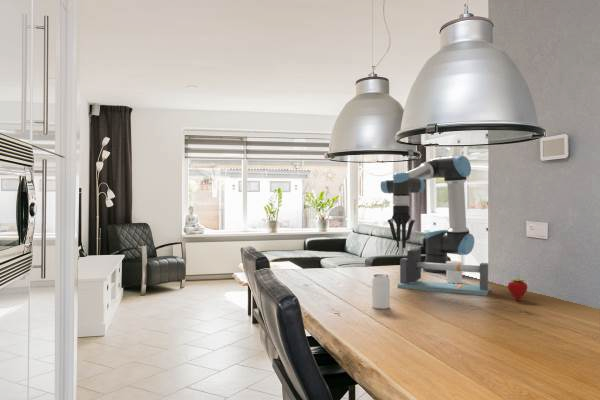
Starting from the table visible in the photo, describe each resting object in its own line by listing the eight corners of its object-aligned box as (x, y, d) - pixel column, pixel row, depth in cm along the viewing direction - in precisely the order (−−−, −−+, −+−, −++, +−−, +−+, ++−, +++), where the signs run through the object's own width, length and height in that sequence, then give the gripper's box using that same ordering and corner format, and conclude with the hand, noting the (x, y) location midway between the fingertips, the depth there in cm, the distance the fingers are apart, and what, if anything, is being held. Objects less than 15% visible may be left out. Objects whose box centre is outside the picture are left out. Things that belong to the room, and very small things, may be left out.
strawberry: (504, 298, 185) (504, 274, 185) (522, 298, 186) (522, 274, 186) (512, 301, 179) (512, 276, 179) (530, 301, 180) (530, 276, 180)
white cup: (465, 284, 218) (465, 263, 218) (448, 283, 218) (448, 263, 218) (459, 281, 225) (459, 261, 225) (443, 281, 226) (443, 261, 226)
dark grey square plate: (407, 281, 206) (407, 251, 206) (414, 277, 219) (414, 248, 219) (413, 282, 205) (413, 251, 205) (420, 277, 217) (420, 248, 217)
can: (392, 308, 167) (392, 276, 167) (376, 309, 166) (376, 277, 166) (385, 305, 174) (385, 273, 174) (369, 305, 172) (369, 274, 172)
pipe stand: (397, 287, 208) (397, 260, 208) (405, 282, 221) (405, 257, 221) (486, 295, 191) (486, 266, 191) (489, 289, 203) (489, 262, 203)
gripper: (385, 205, 214) (385, 254, 214) (413, 205, 208) (413, 256, 208) (390, 205, 221) (390, 253, 221) (416, 205, 215) (416, 254, 215)
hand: (401, 254), depth 215 cm, fingers closed
